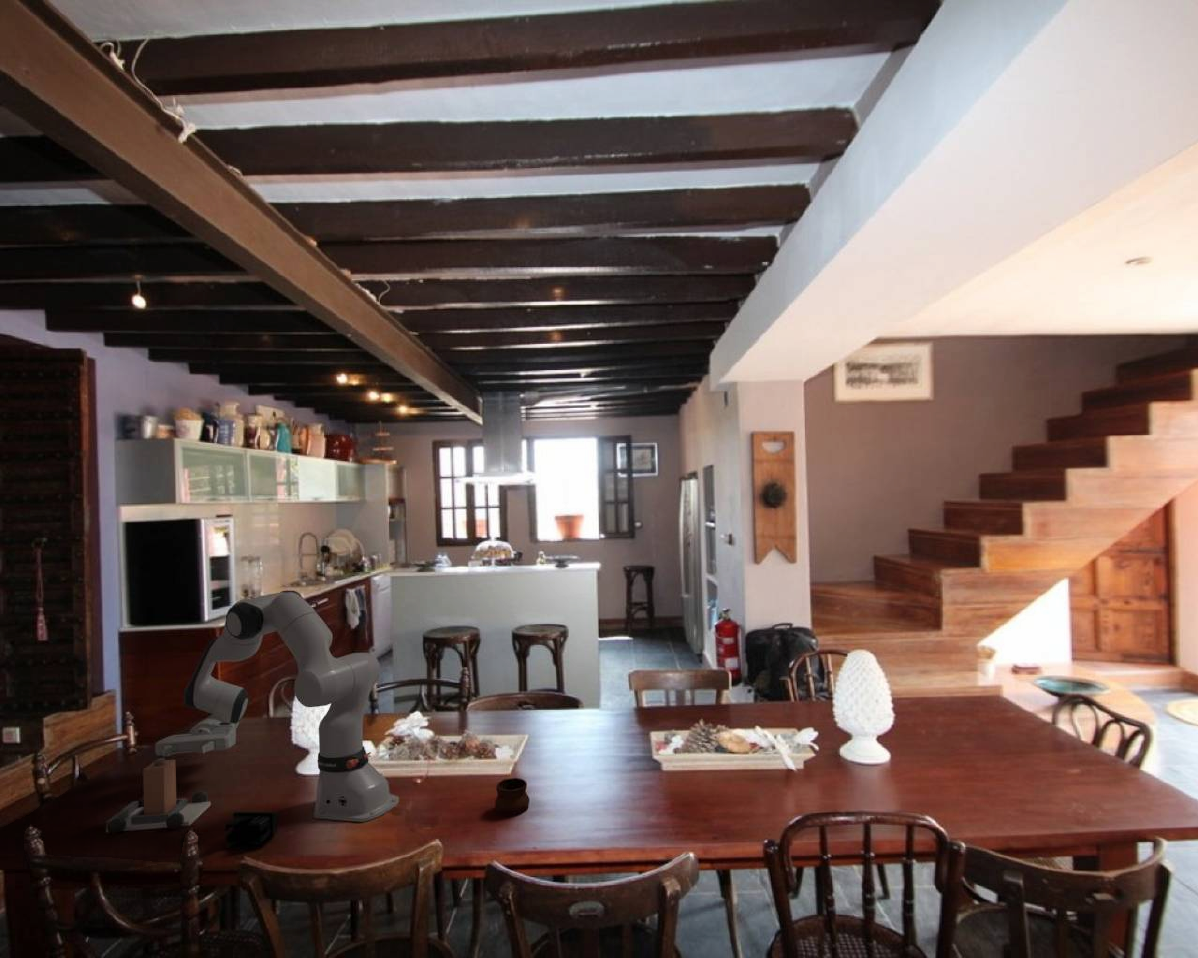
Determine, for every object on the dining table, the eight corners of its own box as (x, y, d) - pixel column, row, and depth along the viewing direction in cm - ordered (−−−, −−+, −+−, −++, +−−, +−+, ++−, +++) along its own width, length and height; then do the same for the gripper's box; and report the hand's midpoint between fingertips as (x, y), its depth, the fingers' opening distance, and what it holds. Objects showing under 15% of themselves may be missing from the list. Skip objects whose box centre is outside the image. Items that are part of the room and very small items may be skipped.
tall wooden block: (164, 818, 180) (163, 763, 181) (144, 820, 180) (143, 764, 180) (176, 808, 186) (175, 754, 187) (156, 809, 186) (155, 756, 186)
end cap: (279, 834, 171) (279, 807, 171) (263, 849, 164) (262, 820, 164) (241, 834, 172) (240, 807, 172) (223, 849, 165) (222, 820, 165)
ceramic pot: (469, 804, 184) (469, 777, 184) (532, 790, 192) (531, 764, 192) (489, 834, 168) (489, 805, 168) (557, 817, 176) (557, 789, 176)
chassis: (213, 802, 192) (212, 789, 192) (186, 828, 176) (185, 814, 177) (136, 808, 190) (136, 795, 190) (102, 835, 174) (101, 820, 174)
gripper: (168, 728, 208) (143, 744, 194) (240, 722, 210) (219, 737, 196) (169, 749, 208) (144, 767, 194) (241, 743, 210) (220, 760, 196)
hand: (182, 752), depth 195 cm, fingers open, 8 cm apart
